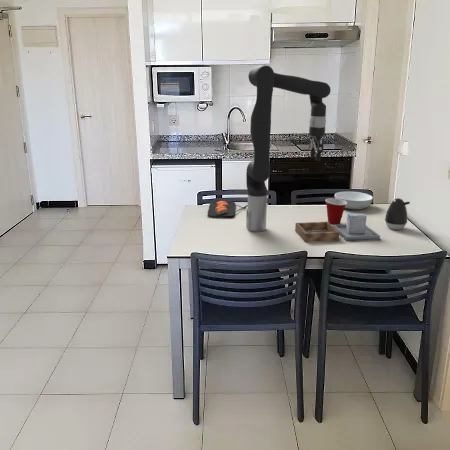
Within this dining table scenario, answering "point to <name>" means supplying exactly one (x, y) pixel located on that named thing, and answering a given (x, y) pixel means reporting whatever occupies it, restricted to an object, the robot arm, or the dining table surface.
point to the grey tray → (367, 235)
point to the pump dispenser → (396, 214)
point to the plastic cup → (335, 210)
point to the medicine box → (355, 223)
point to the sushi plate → (222, 208)
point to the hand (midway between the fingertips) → (315, 159)
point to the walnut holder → (318, 236)
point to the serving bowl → (354, 199)
